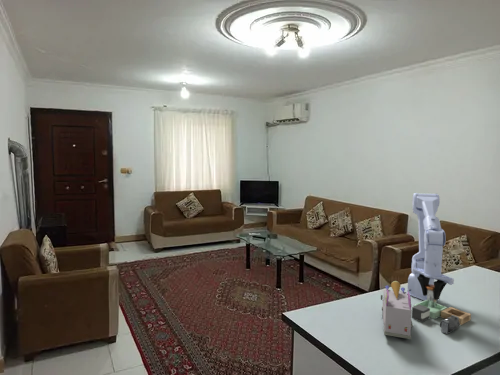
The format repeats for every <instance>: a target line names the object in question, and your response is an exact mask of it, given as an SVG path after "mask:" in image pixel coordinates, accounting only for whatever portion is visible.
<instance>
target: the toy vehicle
mask: <svg viewBox="0 0 500 375" xmlns="http://www.w3.org/2000/svg"><path fill="white" fill-rule="evenodd" d="M390 287H391V289H389V288H390ZM400 290H401V291H400ZM411 297H412V296H410V294H409V292H408V295H407V291H406V288H405V287H401V283H400V282H399V281H397V280H394V281H392V282H391V284H390V286H389V285H385V287H384V289H383V294H380V300H381V301H382V306H381V311H382V312H381V313H382V314H381V315H382V316H381V317H382V319H383V335H384V336H389V337H396V338H400V339H401V338H402V339H408V340H411V339H412V334H411V329H412V328H413V327H414V324H413V321H412V299H411Z"/></svg>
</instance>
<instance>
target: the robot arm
mask: <svg viewBox="0 0 500 375" xmlns="http://www.w3.org/2000/svg"><path fill="white" fill-rule="evenodd" d="M440 198H441V197H440V194H438V193H425V192H424V193H419V192H414V193H413V194H412V200H411V201H412V213H413V214H415V215H417V216H416V217H417V222H418V252H417V253H415V254H414V255H412V258H411V273H410V274H409V275H408V278H407V291H406V293H407V296H408V292H409V294H410V297H413V298H416V299H419V300H422V301H425V300H427V288H426V285H427V284H432V285H434V288H435V295H434V299H435V300H440V297H441V294H442V293H443V292H442V291H444V290H443V289H444V288H445V286H447V285H450V286H451V285H454V284H455V283H454V282H455V279H454V278H453V277H450V276H448V275H445V274H443V273H442V269H443V266H442V264H443V250H444V247H445V245H446V239H447V238H446V232H445V230H444V229H443V228H442V226H441V222H440V218H439V217H437V215H436V214H437V212H438V208H439V206H440V200H441V199H440Z"/></svg>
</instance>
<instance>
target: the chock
mask: <svg viewBox="0 0 500 375" xmlns="http://www.w3.org/2000/svg"><path fill="white" fill-rule="evenodd" d="M411 310H412V314H411V319H415V320H417V321H419V322H421V323H423V322H425V321H427V320H429V319H430V317H429V316H430V308H428V307H425V306H422V305H420V304H419V305H416V306H414V305H413V306H411Z"/></svg>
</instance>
